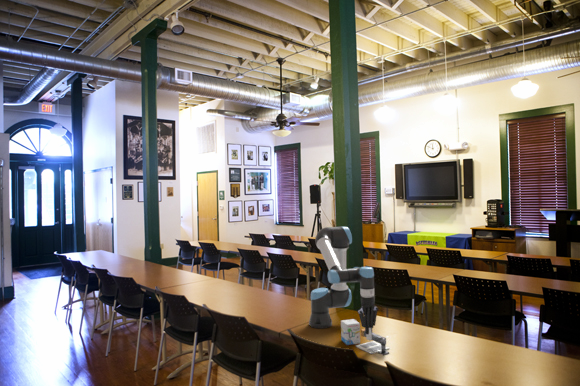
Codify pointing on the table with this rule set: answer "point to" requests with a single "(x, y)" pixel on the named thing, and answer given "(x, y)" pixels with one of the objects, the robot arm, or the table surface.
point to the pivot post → (383, 350)
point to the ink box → (350, 331)
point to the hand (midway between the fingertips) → (369, 339)
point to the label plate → (370, 347)
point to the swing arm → (375, 337)
